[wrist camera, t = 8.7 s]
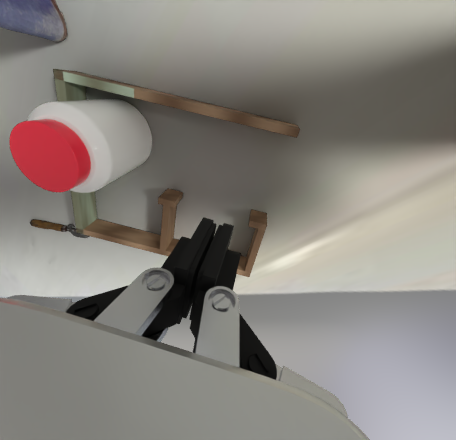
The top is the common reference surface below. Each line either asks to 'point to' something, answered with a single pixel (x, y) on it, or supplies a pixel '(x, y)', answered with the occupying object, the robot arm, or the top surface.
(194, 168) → the top surface
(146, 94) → the wooden frame
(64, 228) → the can opener
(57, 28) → the flask
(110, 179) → the pill bottle
